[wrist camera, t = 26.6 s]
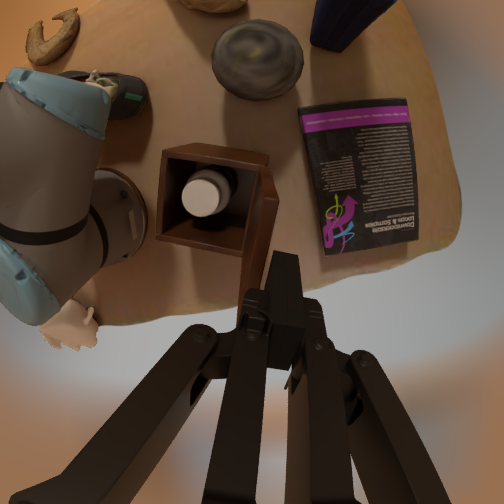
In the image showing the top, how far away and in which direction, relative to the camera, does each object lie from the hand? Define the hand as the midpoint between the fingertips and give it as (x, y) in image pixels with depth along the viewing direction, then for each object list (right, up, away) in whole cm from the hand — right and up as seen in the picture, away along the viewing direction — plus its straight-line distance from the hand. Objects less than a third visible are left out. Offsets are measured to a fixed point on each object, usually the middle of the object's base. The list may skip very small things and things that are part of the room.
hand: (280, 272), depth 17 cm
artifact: (-30, +36, +8) cm, 47 cm away
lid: (-2, +2, +4) cm, 5 cm away
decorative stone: (-1, +24, +12) cm, 27 cm away
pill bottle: (-6, +10, +19) cm, 22 cm away
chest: (-5, +10, +19) cm, 22 cm away
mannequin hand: (-37, -17, +33) cm, 52 cm away
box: (+13, +12, +17) cm, 24 cm away
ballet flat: (-27, +25, +14) cm, 39 cm away
